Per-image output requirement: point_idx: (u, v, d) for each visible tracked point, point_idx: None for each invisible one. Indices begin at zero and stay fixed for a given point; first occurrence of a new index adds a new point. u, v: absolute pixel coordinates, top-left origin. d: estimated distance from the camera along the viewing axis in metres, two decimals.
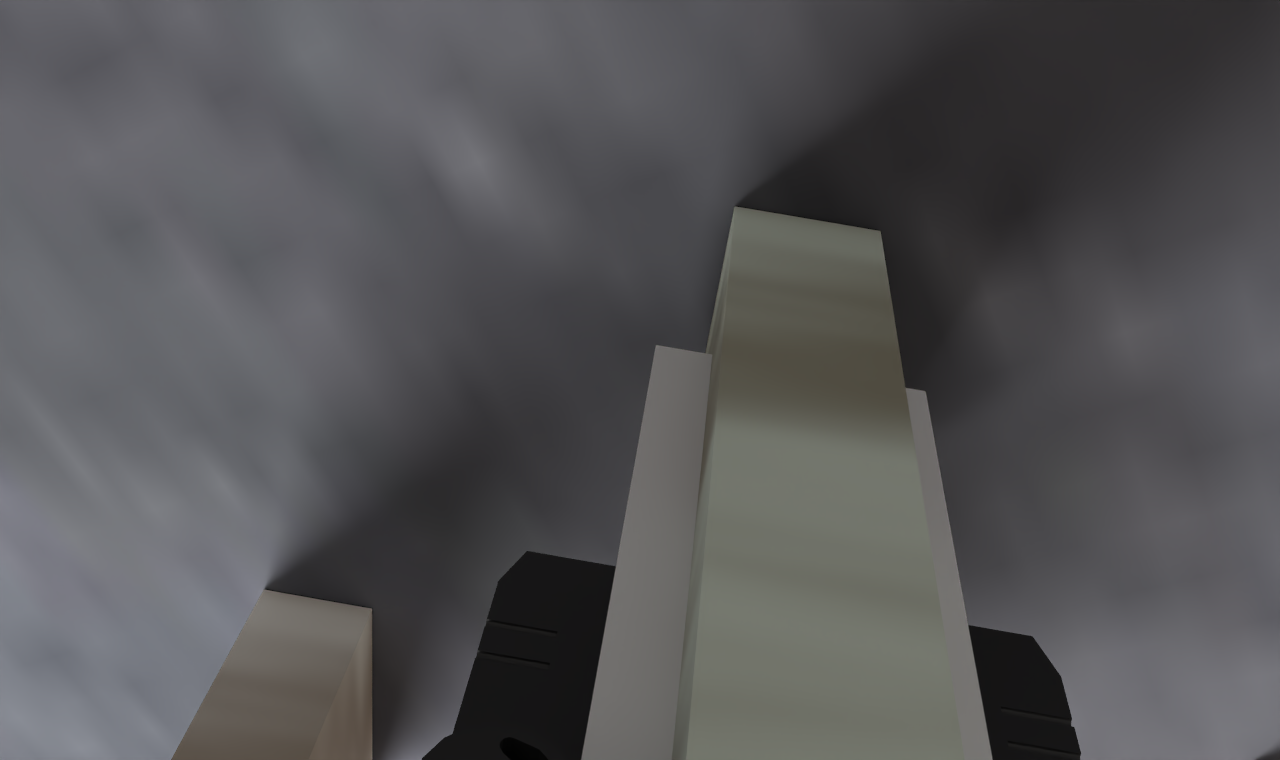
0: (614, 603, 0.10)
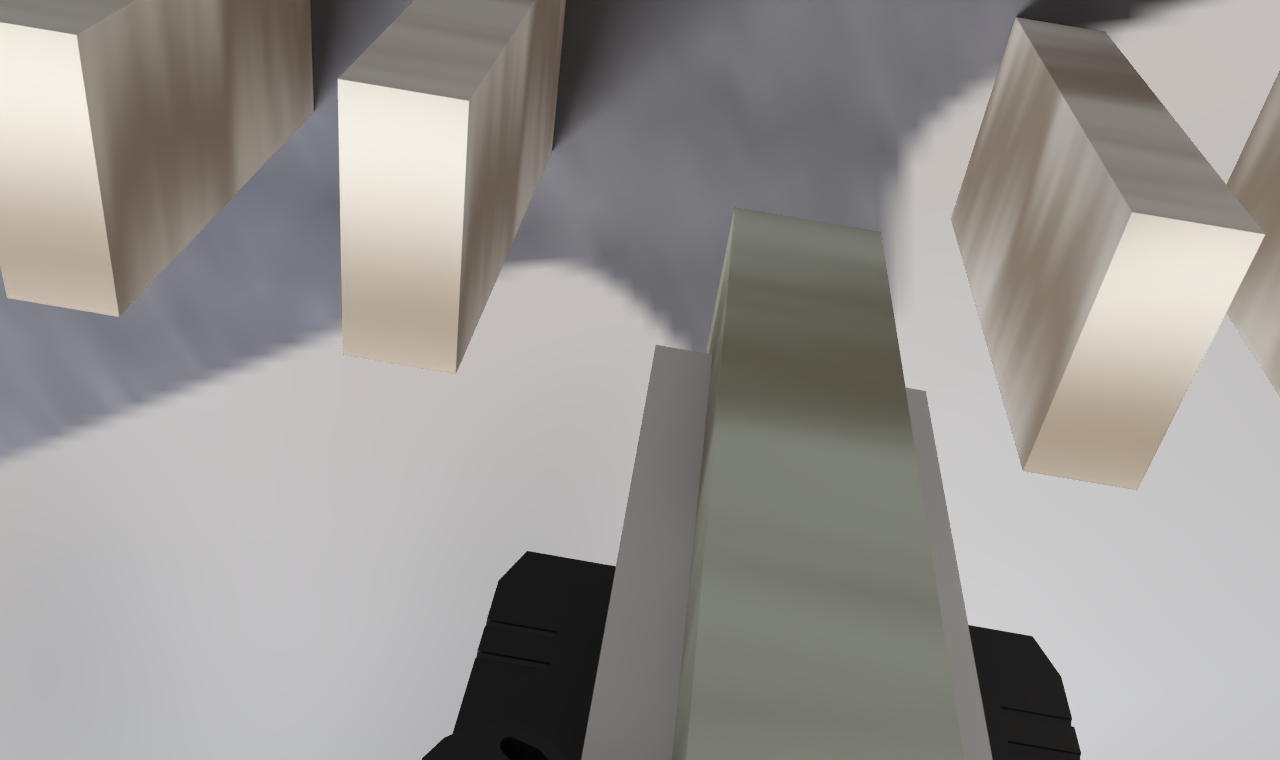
0: (614, 603, 0.10)
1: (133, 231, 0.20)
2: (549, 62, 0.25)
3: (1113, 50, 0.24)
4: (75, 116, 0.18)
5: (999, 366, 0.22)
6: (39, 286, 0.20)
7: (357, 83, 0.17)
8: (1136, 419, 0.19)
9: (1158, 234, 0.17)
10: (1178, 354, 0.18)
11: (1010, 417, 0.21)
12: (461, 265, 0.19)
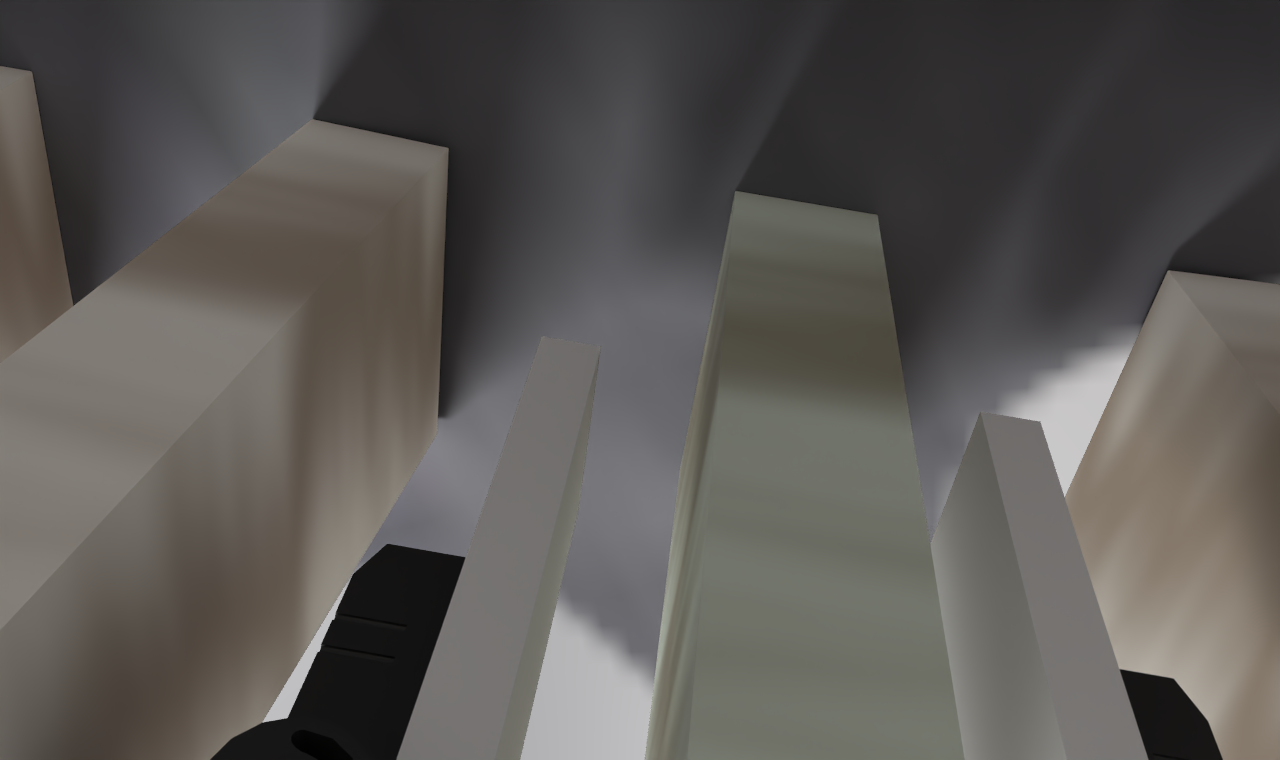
0: (457, 596, 0.10)
1: None
2: (396, 343, 0.15)
3: None
4: None
5: None
6: None
7: None
8: None
9: None
10: None
11: None
12: None
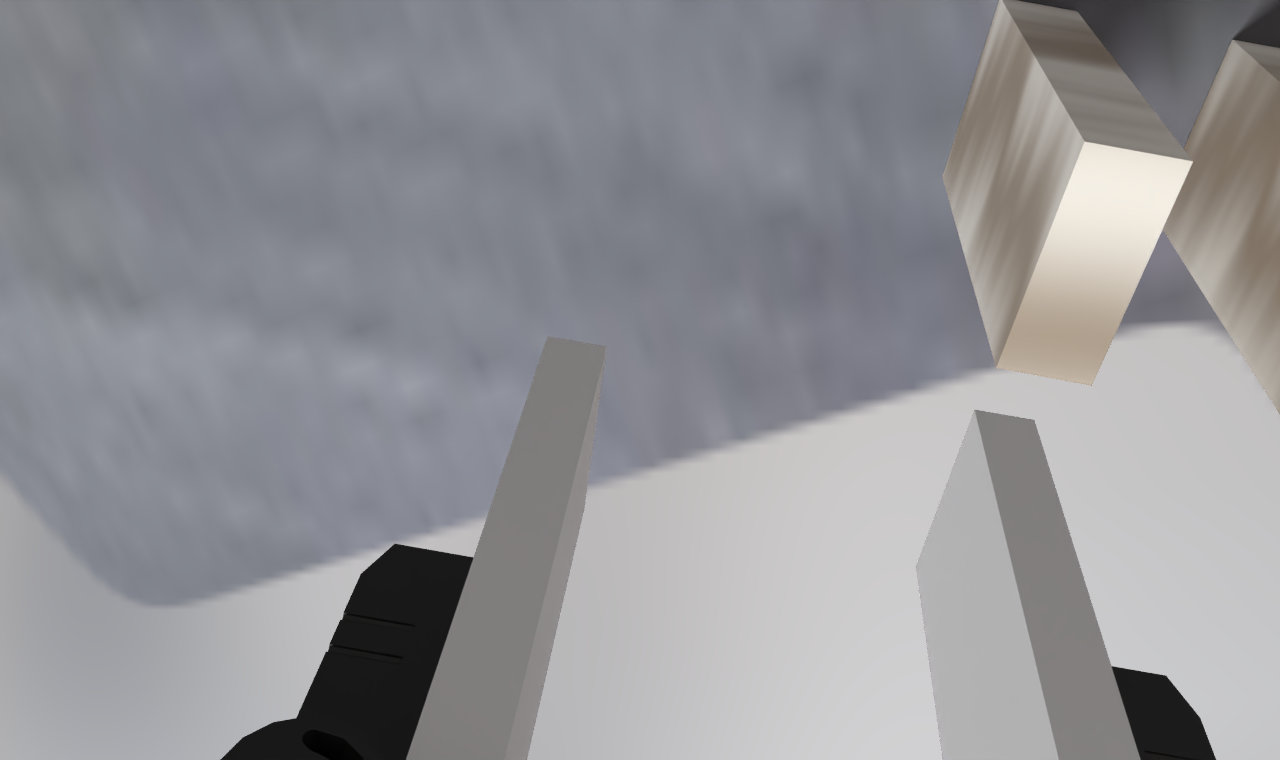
0: (465, 595, 0.10)
1: None
2: None
3: None
4: (1150, 225, 0.21)
5: None
6: (1032, 359, 0.23)
7: None
8: None
9: None
10: None
11: None
12: None
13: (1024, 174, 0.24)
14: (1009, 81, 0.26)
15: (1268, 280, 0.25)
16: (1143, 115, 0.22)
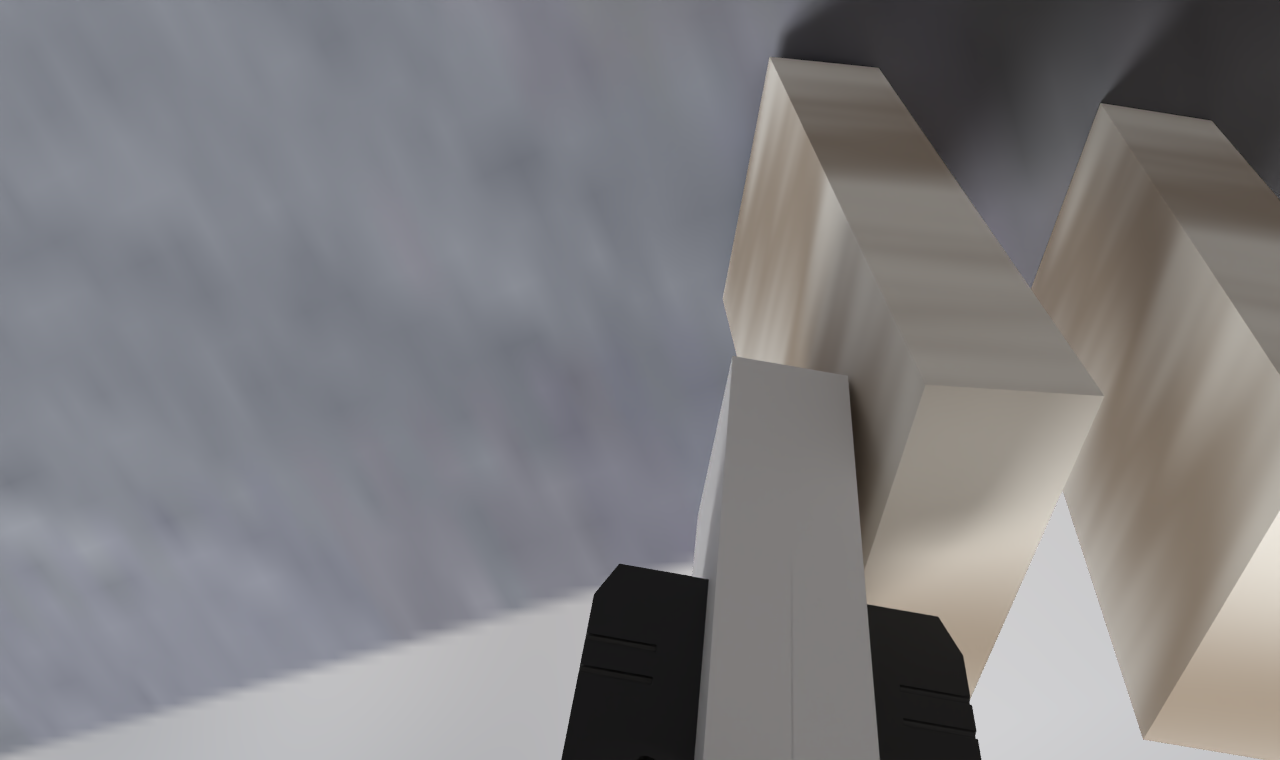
0: (718, 618, 0.11)
1: None
2: None
3: None
4: (1043, 490, 0.13)
5: None
6: None
7: None
8: None
9: None
10: None
11: None
12: None
13: None
14: (794, 199, 0.18)
15: (1131, 492, 0.16)
16: (1005, 288, 0.14)
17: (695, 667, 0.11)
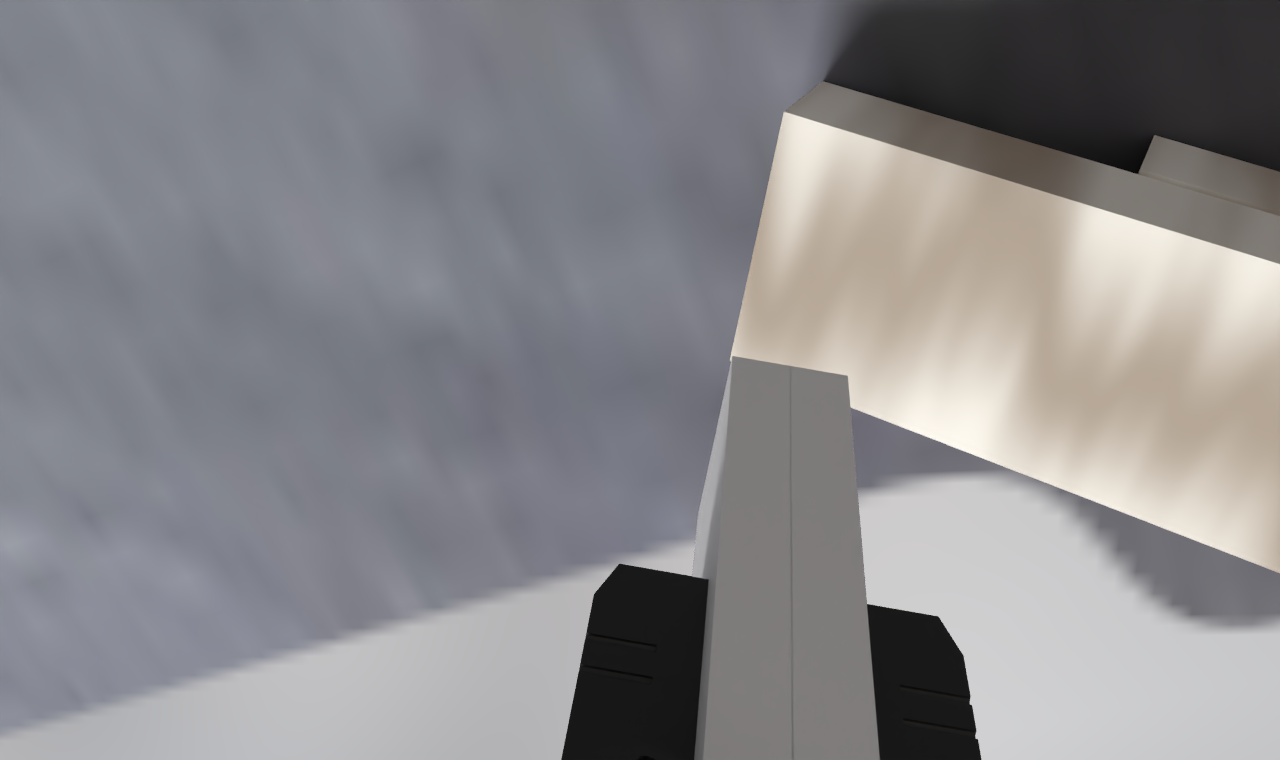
0: (718, 617, 0.11)
1: None
2: None
3: None
4: None
5: None
6: None
7: None
8: None
9: None
10: None
11: None
12: None
13: (1187, 354, 0.18)
14: (976, 235, 0.18)
15: None
16: None
17: (695, 667, 0.11)
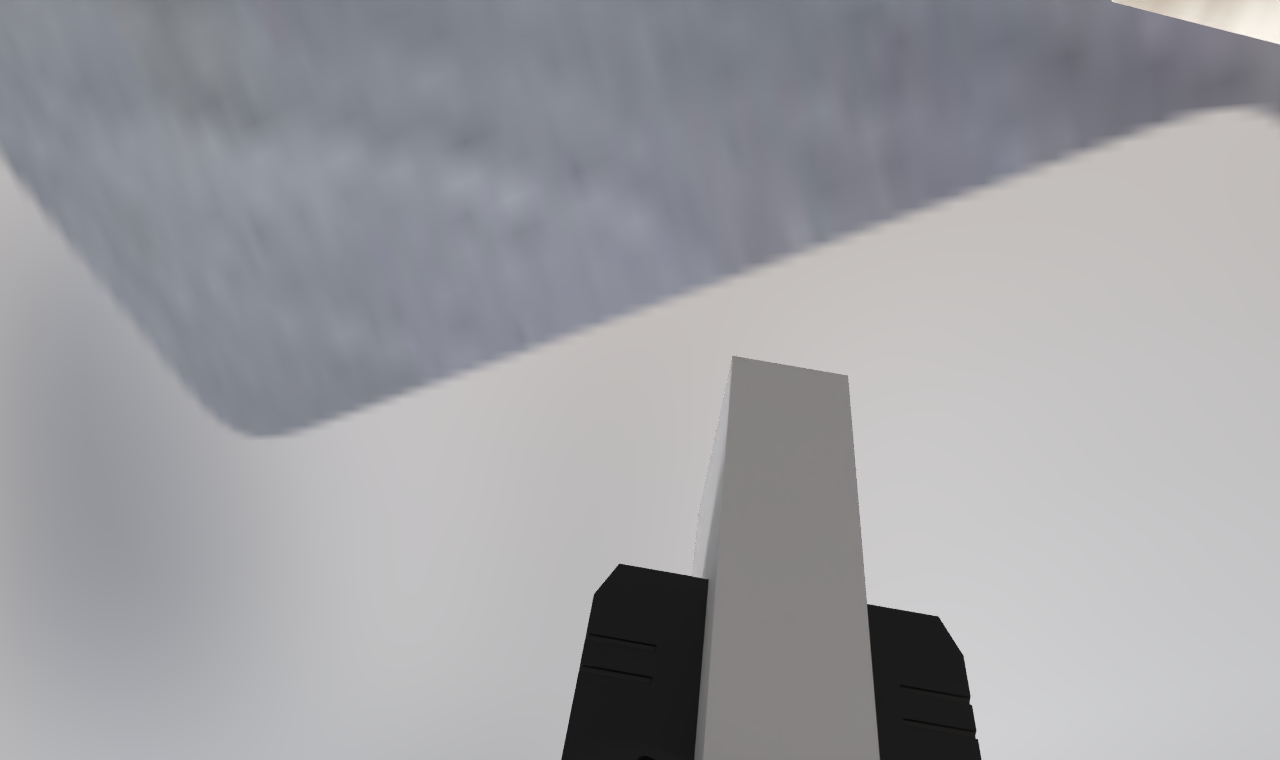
0: (718, 617, 0.11)
1: None
2: None
3: None
4: None
5: None
6: None
7: None
8: None
9: None
10: None
11: None
12: None
13: None
14: None
15: None
16: None
17: (695, 667, 0.11)
